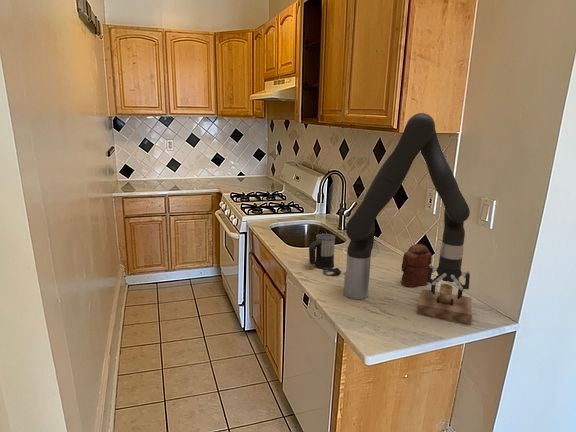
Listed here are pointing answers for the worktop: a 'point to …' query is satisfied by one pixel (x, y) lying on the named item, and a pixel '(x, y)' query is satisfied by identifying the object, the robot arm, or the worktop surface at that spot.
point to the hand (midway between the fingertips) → (445, 295)
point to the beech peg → (445, 294)
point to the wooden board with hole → (445, 307)
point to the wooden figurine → (416, 266)
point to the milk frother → (323, 252)
